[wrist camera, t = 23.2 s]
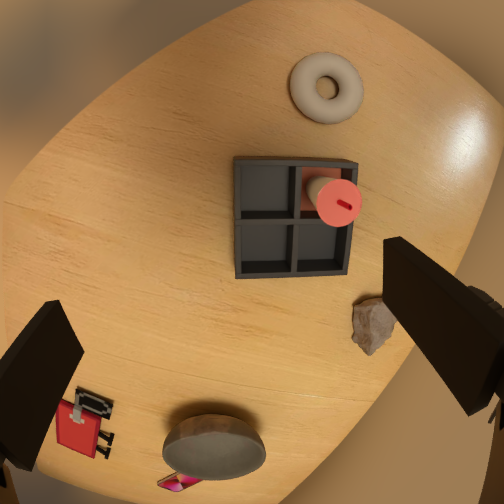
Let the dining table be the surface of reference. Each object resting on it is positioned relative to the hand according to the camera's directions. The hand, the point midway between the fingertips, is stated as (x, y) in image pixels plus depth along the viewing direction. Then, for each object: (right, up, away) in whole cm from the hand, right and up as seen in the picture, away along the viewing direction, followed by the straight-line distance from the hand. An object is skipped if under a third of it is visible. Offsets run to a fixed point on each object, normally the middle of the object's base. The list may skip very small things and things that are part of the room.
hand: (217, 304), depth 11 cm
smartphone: (-19, -62, +58) cm, 87 cm away
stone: (+21, -9, +40) cm, 46 cm away
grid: (+6, +7, +32) cm, 33 cm away
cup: (+10, +11, +30) cm, 34 cm away
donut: (+11, +24, +26) cm, 37 cm away
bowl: (-7, -35, +48) cm, 59 cm away
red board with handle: (-38, -39, +47) cm, 72 cm away
